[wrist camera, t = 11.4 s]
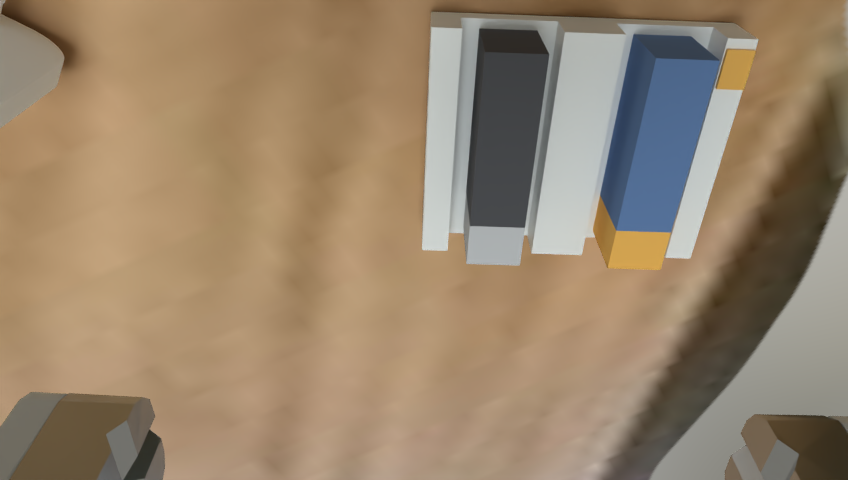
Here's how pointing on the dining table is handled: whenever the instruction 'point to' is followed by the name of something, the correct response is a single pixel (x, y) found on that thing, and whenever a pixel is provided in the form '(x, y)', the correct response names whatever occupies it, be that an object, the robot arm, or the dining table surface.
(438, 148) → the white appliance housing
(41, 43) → the cable organizer
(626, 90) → the blue bar yellow end
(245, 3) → the dining table surface
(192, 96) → the dining table surface
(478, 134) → the dark grey square rod
